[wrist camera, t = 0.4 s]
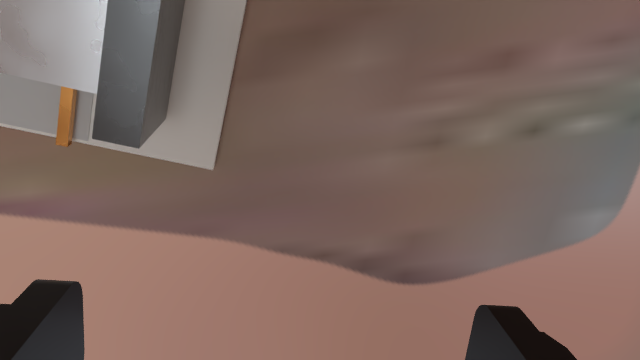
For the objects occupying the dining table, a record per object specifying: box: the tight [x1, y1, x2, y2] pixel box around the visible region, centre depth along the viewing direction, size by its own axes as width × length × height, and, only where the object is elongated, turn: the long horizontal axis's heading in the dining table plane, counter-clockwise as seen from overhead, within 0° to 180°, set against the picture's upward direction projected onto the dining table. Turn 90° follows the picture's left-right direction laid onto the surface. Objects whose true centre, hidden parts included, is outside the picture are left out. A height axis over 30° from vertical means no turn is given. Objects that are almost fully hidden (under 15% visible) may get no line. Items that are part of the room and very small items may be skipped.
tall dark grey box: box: [0, 0, 185, 149], centre depth 23 cm, size 10×13×6 cm
